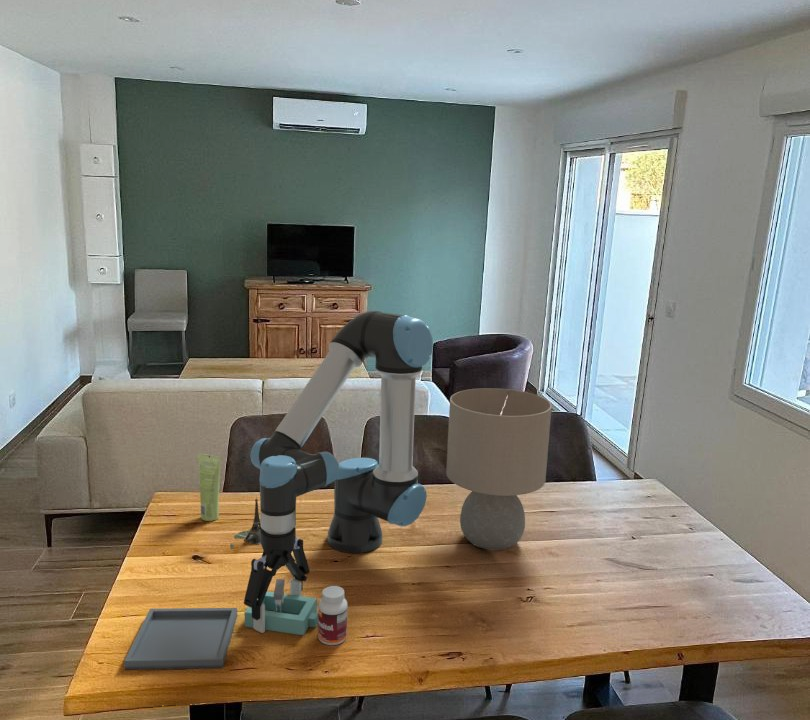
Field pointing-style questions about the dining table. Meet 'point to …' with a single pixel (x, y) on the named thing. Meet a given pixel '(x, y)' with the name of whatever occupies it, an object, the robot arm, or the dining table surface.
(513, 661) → the dining table surface
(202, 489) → the tube
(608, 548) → the dining table surface
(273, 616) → the ring frame
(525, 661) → the dining table surface
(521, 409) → the lamp
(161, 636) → the tray
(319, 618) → the pill bottle
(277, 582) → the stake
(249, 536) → the eiffel tower figurine
